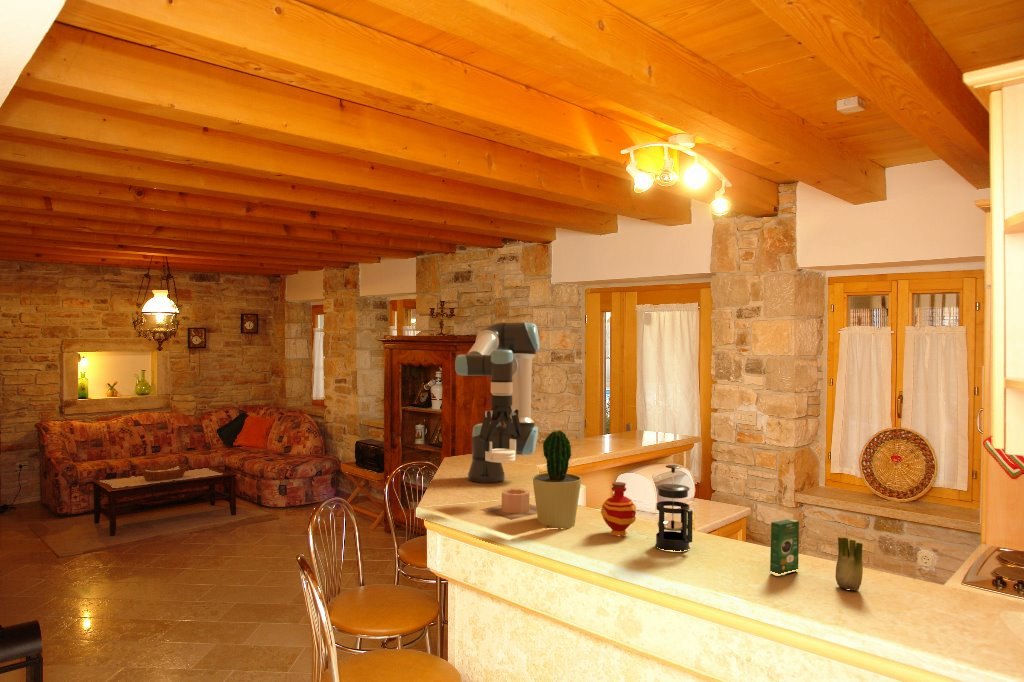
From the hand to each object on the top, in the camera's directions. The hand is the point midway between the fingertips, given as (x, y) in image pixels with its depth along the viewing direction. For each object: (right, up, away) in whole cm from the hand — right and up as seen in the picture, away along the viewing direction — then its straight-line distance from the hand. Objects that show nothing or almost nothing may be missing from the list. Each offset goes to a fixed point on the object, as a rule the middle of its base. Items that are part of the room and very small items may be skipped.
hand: (500, 459), depth 233 cm
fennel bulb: (+83, -18, -74) cm, 112 cm away
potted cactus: (+18, -17, -21) cm, 32 cm away
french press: (+49, -17, -44) cm, 68 cm away
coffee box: (+72, -18, -64) cm, 98 cm away
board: (+5, -17, -8) cm, 19 cm away
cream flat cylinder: (0, -1, 0) cm, 1 cm away
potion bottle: (+36, -17, -30) cm, 50 cm away
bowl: (+5, -15, -8) cm, 18 cm away
